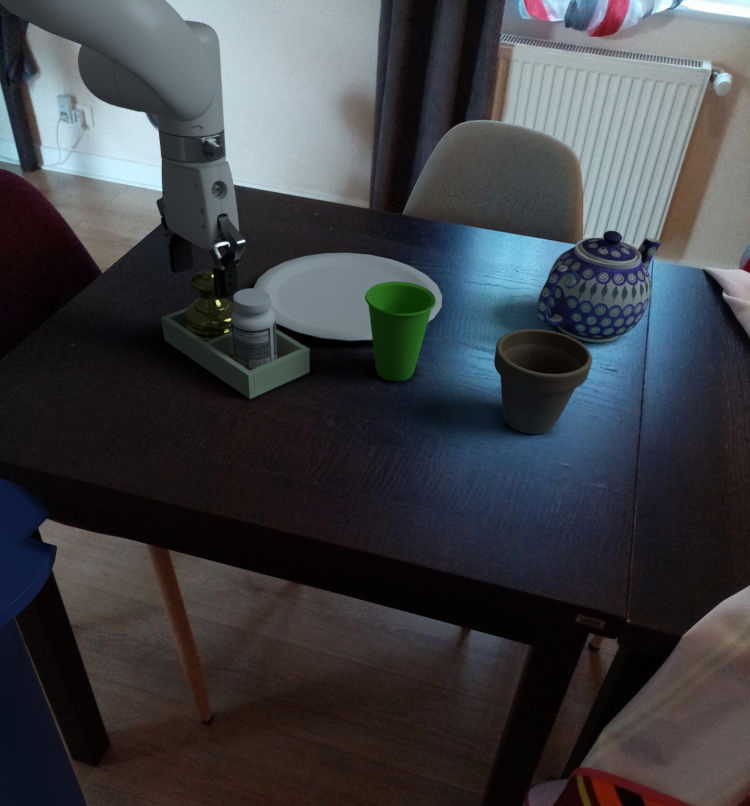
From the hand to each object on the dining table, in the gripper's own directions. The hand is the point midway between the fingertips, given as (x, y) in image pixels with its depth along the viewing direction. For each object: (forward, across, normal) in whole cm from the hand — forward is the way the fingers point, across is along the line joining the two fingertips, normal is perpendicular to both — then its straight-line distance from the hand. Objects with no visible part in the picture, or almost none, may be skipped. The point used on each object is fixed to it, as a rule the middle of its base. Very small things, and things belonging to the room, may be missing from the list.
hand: (204, 282), depth 102 cm
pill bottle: (+9, -9, -1) cm, 13 cm away
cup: (+10, -21, -15) cm, 28 cm away
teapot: (+9, -31, -47) cm, 57 cm away
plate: (+9, -2, -24) cm, 26 cm away
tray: (+10, -4, -2) cm, 11 cm away
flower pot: (+10, -40, -20) cm, 46 cm away
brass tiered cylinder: (+9, 0, -1) cm, 9 cm away
